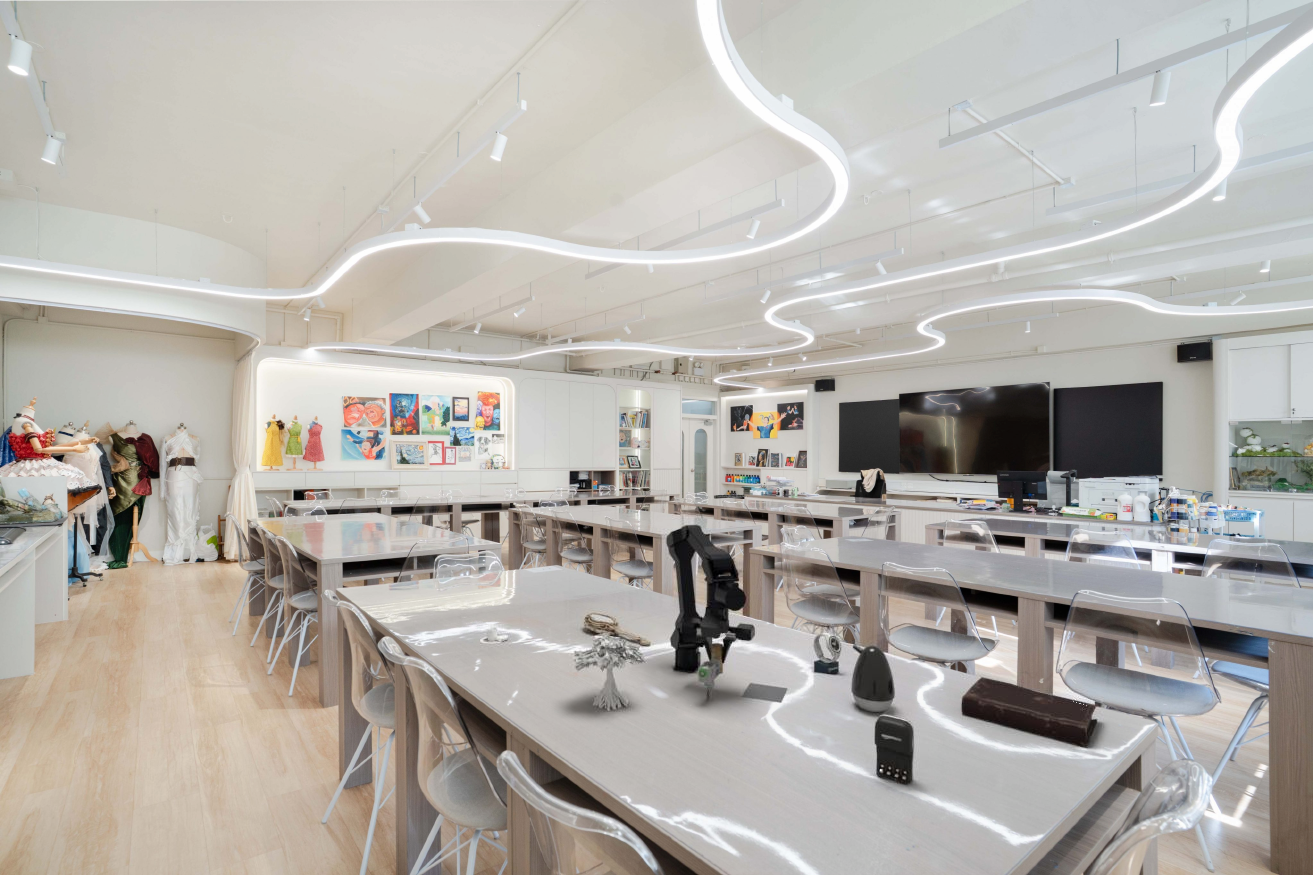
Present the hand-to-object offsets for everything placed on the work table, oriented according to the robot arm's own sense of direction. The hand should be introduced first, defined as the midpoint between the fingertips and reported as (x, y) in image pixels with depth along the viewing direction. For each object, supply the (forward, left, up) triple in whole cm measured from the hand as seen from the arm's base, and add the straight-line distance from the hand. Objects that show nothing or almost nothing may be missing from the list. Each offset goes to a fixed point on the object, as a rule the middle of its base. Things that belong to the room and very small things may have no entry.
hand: (717, 662), depth 163 cm
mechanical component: (0, -7, -8) cm, 11 cm away
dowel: (0, 0, -2) cm, 3 cm away
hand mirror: (-44, +35, -8) cm, 57 cm away
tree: (-23, -16, -8) cm, 29 cm away
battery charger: (+43, -28, -8) cm, 52 cm away
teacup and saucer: (-78, +14, -9) cm, 80 cm away
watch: (+25, +27, -8) cm, 38 cm away
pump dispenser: (+38, +6, -8) cm, 39 cm away
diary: (+73, +14, -9) cm, 75 cm away
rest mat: (+12, +3, -8) cm, 15 cm away
